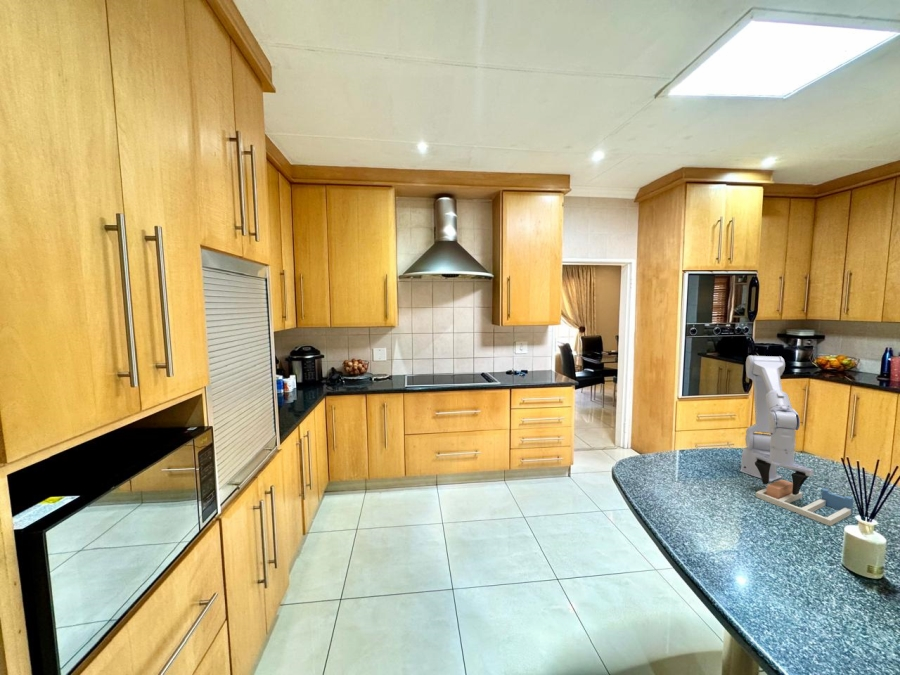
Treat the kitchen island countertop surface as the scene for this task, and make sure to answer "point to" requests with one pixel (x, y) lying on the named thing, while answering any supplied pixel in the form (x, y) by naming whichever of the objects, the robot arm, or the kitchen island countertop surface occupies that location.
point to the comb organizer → (805, 507)
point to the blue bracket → (837, 500)
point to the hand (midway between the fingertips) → (780, 488)
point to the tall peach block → (779, 489)
